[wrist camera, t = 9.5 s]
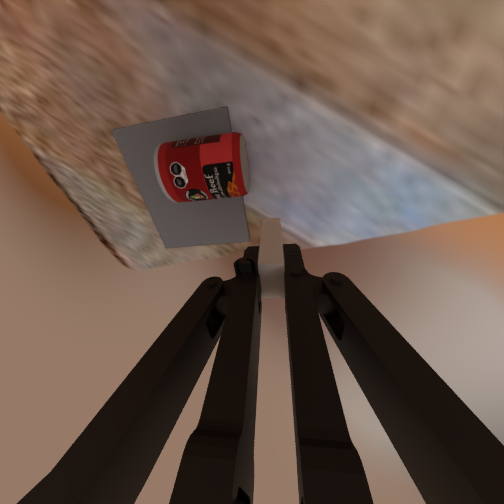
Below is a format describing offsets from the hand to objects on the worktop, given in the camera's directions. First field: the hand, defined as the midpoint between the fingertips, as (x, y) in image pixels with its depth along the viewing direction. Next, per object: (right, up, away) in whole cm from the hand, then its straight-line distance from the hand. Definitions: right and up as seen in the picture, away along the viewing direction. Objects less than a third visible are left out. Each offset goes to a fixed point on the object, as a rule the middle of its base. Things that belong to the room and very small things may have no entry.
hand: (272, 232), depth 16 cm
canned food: (-3, +10, +9) cm, 13 cm away
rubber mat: (-13, +9, +16) cm, 22 cm away
